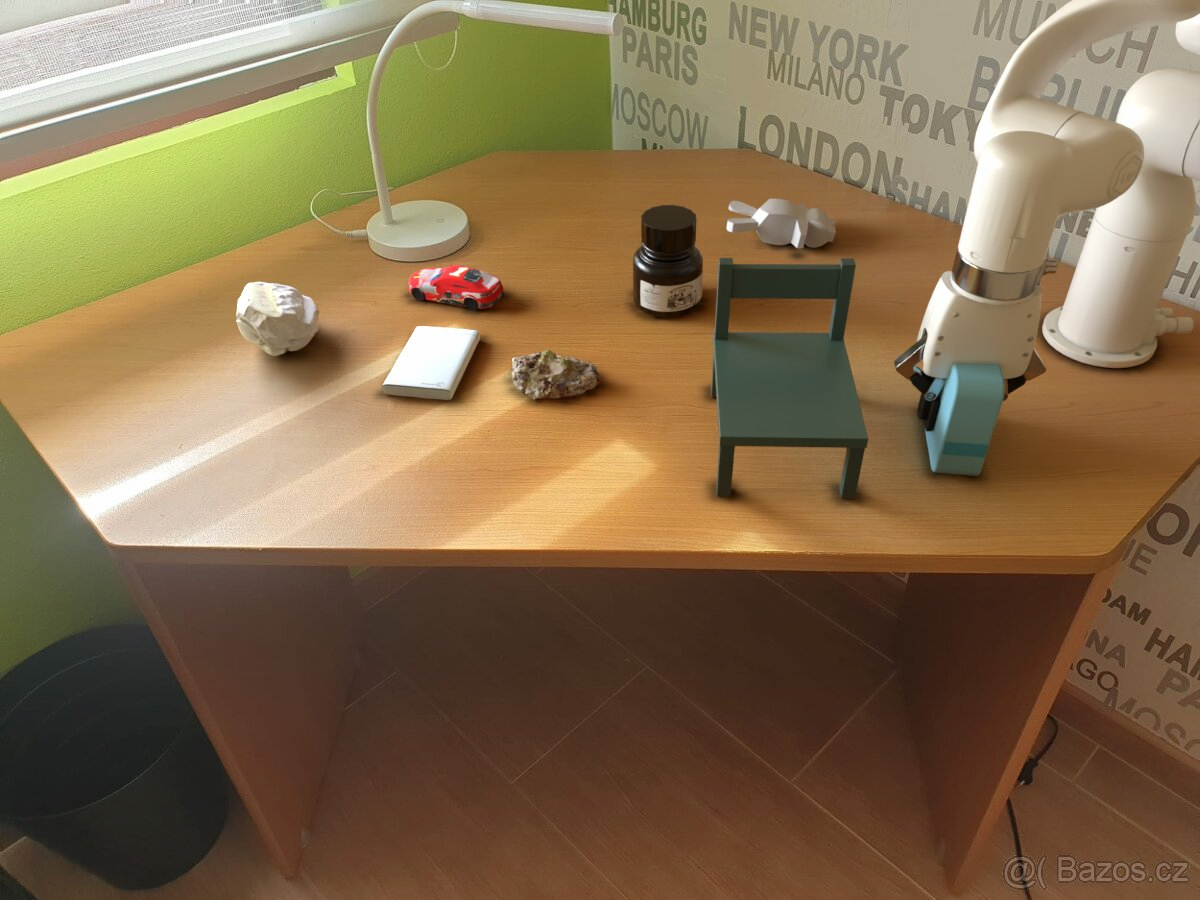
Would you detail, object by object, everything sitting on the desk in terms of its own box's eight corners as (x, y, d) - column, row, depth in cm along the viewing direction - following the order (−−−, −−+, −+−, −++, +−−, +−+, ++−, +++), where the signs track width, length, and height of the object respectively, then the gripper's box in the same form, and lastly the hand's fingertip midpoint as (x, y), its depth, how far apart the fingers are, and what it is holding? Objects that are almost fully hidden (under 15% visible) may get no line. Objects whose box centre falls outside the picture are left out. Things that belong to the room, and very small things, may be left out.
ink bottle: (642, 325, 121) (642, 240, 113) (621, 291, 127) (620, 207, 119) (714, 312, 122) (719, 227, 115) (690, 278, 129) (693, 195, 121)
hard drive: (450, 389, 109) (479, 329, 118) (381, 383, 110) (415, 324, 119) (451, 401, 110) (480, 340, 119) (384, 395, 111) (417, 335, 120)
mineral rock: (499, 385, 108) (515, 331, 112) (504, 408, 111) (519, 355, 116) (593, 396, 106) (605, 341, 111) (595, 419, 110) (606, 365, 114)
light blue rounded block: (978, 482, 97) (1007, 388, 89) (932, 479, 98) (957, 385, 90) (962, 410, 106) (988, 318, 98) (920, 407, 107) (943, 316, 99)
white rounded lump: (297, 309, 126) (230, 346, 121) (274, 253, 121) (203, 290, 116) (346, 338, 119) (278, 378, 114) (324, 280, 113) (251, 320, 109)
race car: (402, 298, 127) (397, 272, 125) (422, 278, 131) (418, 252, 128) (490, 316, 123) (487, 289, 121) (509, 295, 127) (506, 268, 124)
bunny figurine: (839, 231, 129) (729, 214, 130) (829, 264, 133) (723, 247, 134) (836, 199, 137) (732, 184, 137) (827, 231, 140) (726, 216, 141)
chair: (832, 391, 109) (854, 257, 98) (856, 499, 96) (884, 359, 84) (710, 389, 110) (717, 257, 99) (715, 497, 96) (725, 357, 85)
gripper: (1077, 251, 90) (1026, 402, 102) (895, 250, 92) (865, 400, 103) (1104, 292, 85) (1047, 448, 97) (909, 291, 86) (877, 445, 98)
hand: (953, 422), depth 100 cm, fingers closed on light blue rounded block, 4 cm apart
